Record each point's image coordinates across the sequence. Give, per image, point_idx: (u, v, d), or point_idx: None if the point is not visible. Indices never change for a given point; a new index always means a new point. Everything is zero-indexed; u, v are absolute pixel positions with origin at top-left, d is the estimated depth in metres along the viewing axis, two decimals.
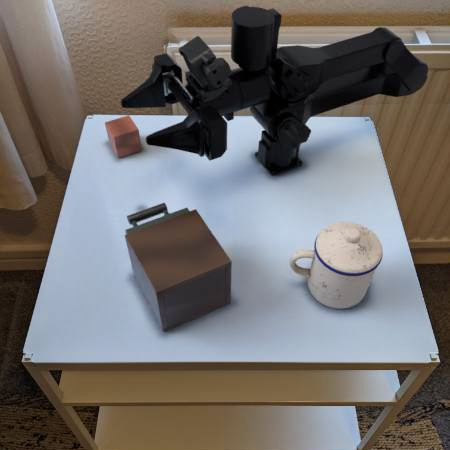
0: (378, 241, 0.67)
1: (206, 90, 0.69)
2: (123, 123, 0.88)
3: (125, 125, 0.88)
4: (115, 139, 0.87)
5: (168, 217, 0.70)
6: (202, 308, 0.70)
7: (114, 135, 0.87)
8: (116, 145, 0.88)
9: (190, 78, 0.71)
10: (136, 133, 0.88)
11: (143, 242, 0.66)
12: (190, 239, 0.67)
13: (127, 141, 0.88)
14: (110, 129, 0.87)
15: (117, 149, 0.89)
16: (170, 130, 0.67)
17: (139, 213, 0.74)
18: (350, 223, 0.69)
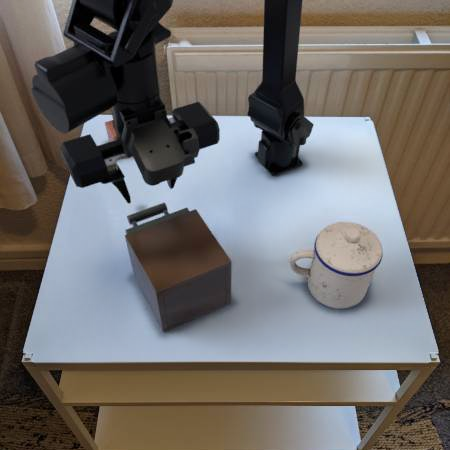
0: (378, 241, 0.67)
1: None
2: None
3: None
4: (115, 139, 0.87)
5: (168, 217, 0.70)
6: (202, 308, 0.70)
7: (114, 135, 0.87)
8: None
9: None
10: None
11: (143, 242, 0.66)
12: (190, 239, 0.67)
13: None
14: (110, 129, 0.87)
15: None
16: None
17: (139, 213, 0.74)
18: (350, 223, 0.69)
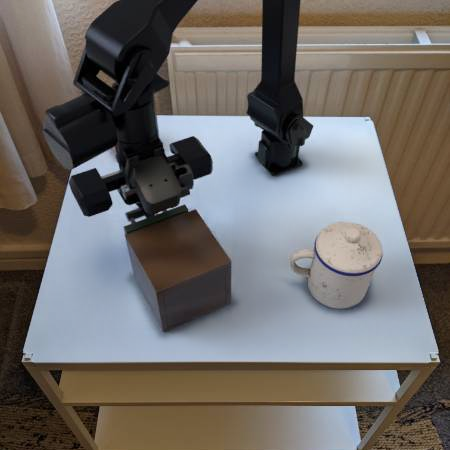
0: (378, 241, 0.67)
1: None
2: None
3: None
4: None
5: (166, 214, 0.70)
6: (202, 308, 0.70)
7: None
8: None
9: None
10: None
11: (143, 242, 0.66)
12: (190, 239, 0.67)
13: None
14: None
15: None
16: None
17: (137, 210, 0.74)
18: (350, 223, 0.69)
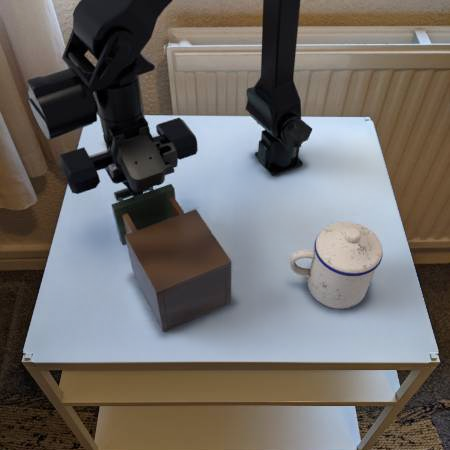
0: (378, 241, 0.67)
1: None
2: None
3: None
4: None
5: (153, 192, 0.73)
6: (202, 308, 0.70)
7: None
8: None
9: None
10: None
11: (143, 242, 0.66)
12: (190, 239, 0.67)
13: None
14: None
15: None
16: None
17: (125, 190, 0.76)
18: (350, 223, 0.69)
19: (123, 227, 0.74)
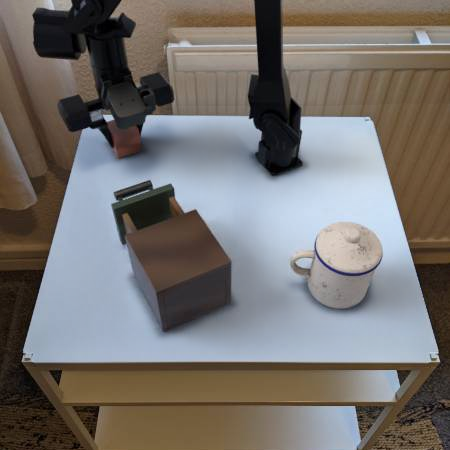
0: (378, 241, 0.67)
1: None
2: None
3: None
4: (115, 139, 0.87)
5: (152, 192, 0.73)
6: (202, 308, 0.70)
7: (114, 135, 0.87)
8: (116, 145, 0.88)
9: None
10: (136, 133, 0.88)
11: (143, 242, 0.66)
12: (190, 239, 0.67)
13: (127, 141, 0.88)
14: (110, 129, 0.87)
15: (117, 149, 0.89)
16: (141, 125, 0.89)
17: (125, 189, 0.76)
18: (350, 223, 0.69)
19: (123, 227, 0.74)
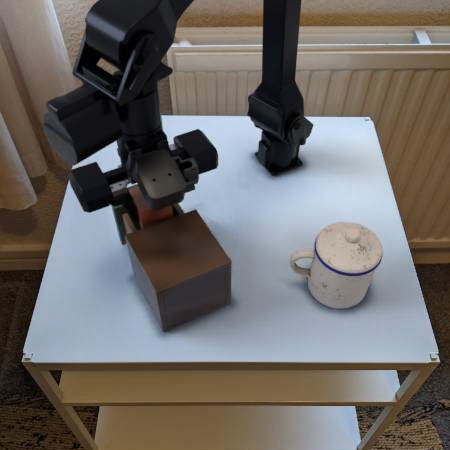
0: (378, 241, 0.67)
1: None
2: None
3: None
4: (142, 215, 0.67)
5: None
6: (202, 308, 0.70)
7: (141, 210, 0.67)
8: (143, 221, 0.68)
9: None
10: (168, 206, 0.69)
11: (143, 242, 0.66)
12: (190, 239, 0.67)
13: (157, 216, 0.69)
14: (135, 201, 0.68)
15: (144, 225, 0.69)
16: None
17: None
18: (350, 223, 0.69)
19: (123, 227, 0.74)
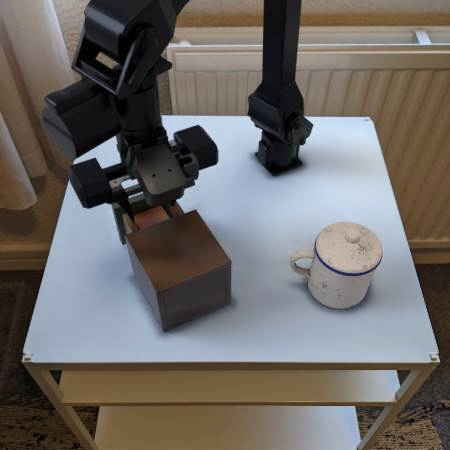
0: (378, 241, 0.67)
1: None
2: (155, 217, 0.73)
3: (157, 220, 0.73)
4: None
5: None
6: (202, 308, 0.70)
7: None
8: None
9: None
10: None
11: (143, 242, 0.66)
12: (190, 239, 0.67)
13: None
14: (140, 225, 0.72)
15: None
16: None
17: (125, 189, 0.76)
18: (350, 223, 0.69)
19: (123, 227, 0.74)
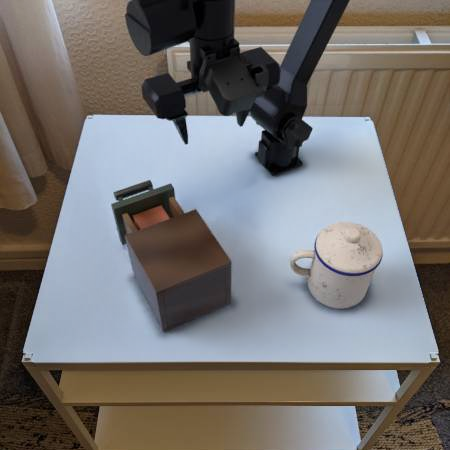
0: (378, 241, 0.67)
1: None
2: (155, 217, 0.73)
3: (157, 220, 0.73)
4: None
5: (152, 192, 0.73)
6: (202, 308, 0.70)
7: None
8: None
9: None
10: None
11: (143, 242, 0.66)
12: (190, 239, 0.67)
13: None
14: (140, 225, 0.72)
15: None
16: (249, 108, 0.74)
17: (125, 189, 0.76)
18: (350, 223, 0.69)
19: (123, 227, 0.74)
